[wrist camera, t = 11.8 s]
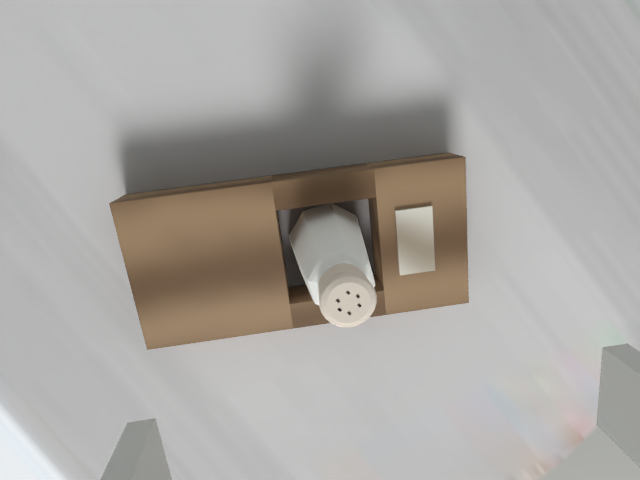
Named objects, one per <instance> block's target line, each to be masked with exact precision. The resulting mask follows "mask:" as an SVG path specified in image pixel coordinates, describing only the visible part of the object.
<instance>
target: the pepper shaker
mask: <svg viewBox="0 0 640 480" xmlns="http://www.w3.org/2000/svg"><path fill="white" fill-rule="evenodd" d="M289 240H290V243H291V246H292V249H293V252H294V255H295V258H296V261H297V264H298V266H299V269H300V271H301V274H302V276H303V278H304V281H305V283H306V285H307V288H308V290H309V292H310V295H311V297H312V299H313V301H314V303H315V304H317V305H319V307H320V310H321V313H322V314H323V316H324V317H325V319H326V320H328V321H329V322H330V323H332V324H334V325H336V326H340V327H353V326H356V325H359V324H361V323H363V322H364V321H366V320H367V319H368V318H369V317H370V316H371V315H372V313H373V311H374V310H375V306H376V303H377V295H376V292H375V289H374V287H375V280H374V276H373V273H372V269H371V266H370V262H369V258H368V255H367V251H366V247H365V244H364V240H363V237H362V233H361V230H360V226H359V222H358V219H357V216H356V215H354V214H352V213H350V212H348V211H346V210H344V209H342V208H341V207H339V206H337V205H335V204H333V203H331V204H324V205H321V206H318V207H315V208H311V209H308V210H305V211H302V213H301V215H300V216H299V218H298V220H297V222H296V224H295V226H294V228H293V229H292V231H291V233H290V235H289Z"/></svg>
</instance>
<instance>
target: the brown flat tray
mask: <svg viewBox="0 0 640 480" xmlns="http://www.w3.org/2000/svg"><path fill="white" fill-rule="evenodd" d="M361 199H368V200H369V212H370V223H371V235H372V246H373V257H374V269H375V275H373V276H374V280H375V287H374V289H375V292H376V295H377V303H376V306H375V310H374V311H373V313H372V315H371V316H370V317H374V316H381V315H388V314H394V313H401V312H408V311H415V310H422V309H428V308H435V307H442V306H449V305H456V304H463V303H469V296H468V253H467V209H466V166H465V157H463V156H459V155H455V154H451V153H442V154H434V155H426V156H419V157H411V158H403V159H396V160H388V161H380V162H373V163H365V164H357V165H349V166H342V167H334V168H326V169H319V170H311V171H303V172H296V173H288V174H280V175H272V176H265V177H257V178H249V179H242V180H234V181H226V182H219V183H211V184H203V185H195V186H188V187H180V188H172V189H165V190H157V191H149V192H141V193H134V194H126V195H124V196H122V197H120V198H119V199H117V200H115V201H113V202H111V203H109V204H110V208H111V212H112V216H113V220H114V224H115V227H116V231H117V235H118V239H119V243H120V247H121V251H122V254H123V258H124V262H125V266H126V270H127V274H128V277H129V281H130V285H131V289H132V293H133V297H134V301H135V304H136V308H137V312H138V316H139V320H140V324H141V328H142V331H143V335H144V339H145V343H146V347H147V350H149V349H155V348H162V347H169V346H176V345H183V344H190V343H196V342H203V341H210V340H217V339H224V338H231V337H237V336H244V335H251V334H258V333H265V332H271V331H278V330H285V329H292V328H299V327H306V326H312V325H319V324H326V323H330V322H329V321H328V320H326V319H325V317H324V316H323V314H322V313H321V310H320V307H319V305H317V304H315V303H314V301H313V299H312V297H311V295H310V292H309V290H308V288H307V285H300V286H292V287H289V285H288V278H287V272H286V265H285V258H284V252H283V245H282V238H281V231H280V225H279V218H278V210H286V209H293V208H301V207H308V206H316V205H323V204H331V203H338V202H346V201H353V200H361Z"/></svg>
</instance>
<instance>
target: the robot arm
mask: <svg viewBox="0 0 640 480" xmlns="http://www.w3.org/2000/svg"><path fill="white" fill-rule="evenodd" d="M596 425H597V426H598V427H599V428H600V429H602V430H603V431H604V432H605V433H606V434H607V435H608V436H609V437H610V438H611V439H612V440H613V441H614V442H615V443H616V444H617V445H618V446H619V447H620V448H621V449H622V450H623V451H624V452H625V453H626V454H627V455H628V456H629V457H630V458H631V459H632V460H633V461H634V462H635V463H636V464H637V465H638V466H639V467H640V352H639V351H637V350H636V349H634V348H633V347H632V346H630V345H629V344H622V345H615V346H609V347H603V349H602V362H601V374H600V387H599V399H598V412H597V424H596ZM101 480H172V478H171V475H170V471H169V467H168V464H167V460H166V456H165V452H164V449H163V445H162V441H161V438H160V434H159V430H158V427H157V423H156V419H149V420H142V421H136V422H130V423H127V425H126V427H125V429H124V431H123V434H122V436H121V438H120V440H119V442H118V444H117V446H116V448H115V450H114V453H113V455H112V457H111V459H110V461H109V463H108V465H107V467H106V469H105V472H104V474H103V476H102V478H101Z"/></svg>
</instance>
